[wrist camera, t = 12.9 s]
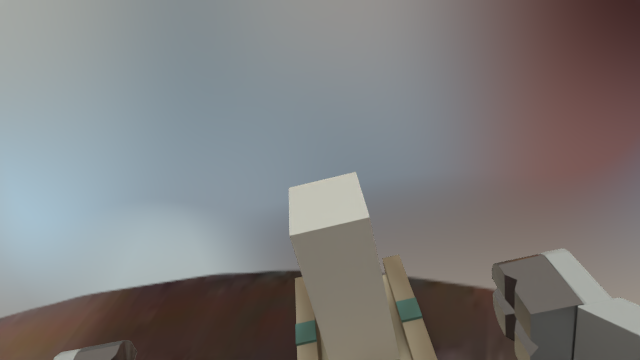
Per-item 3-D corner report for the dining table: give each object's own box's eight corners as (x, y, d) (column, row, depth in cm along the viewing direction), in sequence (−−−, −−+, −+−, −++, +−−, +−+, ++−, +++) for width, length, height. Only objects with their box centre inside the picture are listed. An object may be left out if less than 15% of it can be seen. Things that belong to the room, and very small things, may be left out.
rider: (333, 373, 27) (289, 235, 23) (326, 312, 32) (288, 187, 27) (400, 358, 27) (369, 217, 22) (383, 300, 31) (355, 172, 27)
